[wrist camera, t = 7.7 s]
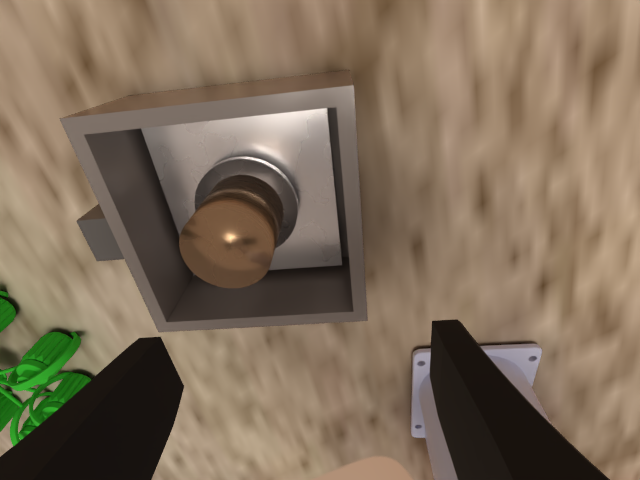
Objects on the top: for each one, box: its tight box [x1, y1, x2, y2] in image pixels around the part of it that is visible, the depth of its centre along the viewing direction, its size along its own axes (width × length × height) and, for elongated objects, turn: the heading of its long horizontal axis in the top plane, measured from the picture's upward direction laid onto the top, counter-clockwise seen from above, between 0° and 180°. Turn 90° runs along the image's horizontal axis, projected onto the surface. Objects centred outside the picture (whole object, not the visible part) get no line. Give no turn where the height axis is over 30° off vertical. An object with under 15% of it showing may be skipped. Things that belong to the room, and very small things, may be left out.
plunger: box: [141, 108, 342, 288], centre depth 15 cm, size 8×8×5 cm
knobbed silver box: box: [60, 70, 368, 332], centre depth 16 cm, size 10×12×5 cm
